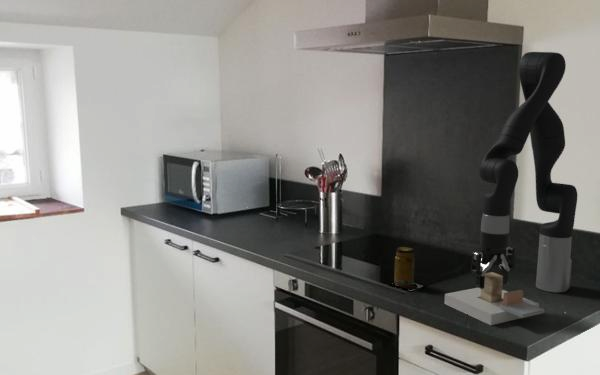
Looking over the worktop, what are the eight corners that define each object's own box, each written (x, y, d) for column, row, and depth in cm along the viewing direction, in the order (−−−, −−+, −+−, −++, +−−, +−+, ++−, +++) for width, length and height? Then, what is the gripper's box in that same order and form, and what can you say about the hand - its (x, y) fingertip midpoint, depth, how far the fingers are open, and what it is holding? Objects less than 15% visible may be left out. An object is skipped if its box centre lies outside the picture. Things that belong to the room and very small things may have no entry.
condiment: (401, 280, 195) (402, 244, 193) (423, 286, 189) (425, 249, 187) (388, 285, 189) (389, 248, 188) (411, 292, 184) (412, 254, 182)
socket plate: (490, 294, 182) (490, 285, 181) (538, 314, 166) (539, 303, 166) (444, 303, 173) (444, 293, 173) (490, 325, 158) (491, 314, 157)
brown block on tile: (521, 303, 165) (522, 289, 164) (544, 312, 158) (545, 297, 157) (500, 308, 161) (501, 293, 160) (522, 317, 154) (523, 302, 154)
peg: (490, 305, 172) (492, 272, 171) (500, 310, 169) (503, 276, 167) (479, 307, 171) (481, 274, 169) (490, 312, 167) (492, 277, 165)
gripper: (485, 235, 160) (482, 293, 162) (524, 229, 166) (520, 285, 169) (465, 229, 166) (463, 285, 169) (503, 224, 173) (500, 278, 175)
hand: (491, 285), depth 169 cm, fingers open, 8 cm apart
